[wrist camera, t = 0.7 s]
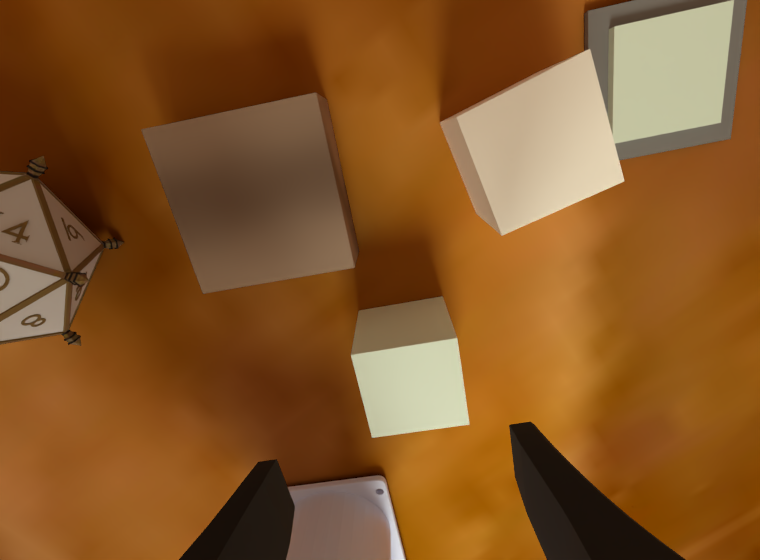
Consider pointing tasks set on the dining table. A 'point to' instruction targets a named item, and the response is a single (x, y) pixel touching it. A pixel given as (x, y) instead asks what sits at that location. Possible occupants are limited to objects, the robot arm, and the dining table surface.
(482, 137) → the cream cube
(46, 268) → the game die
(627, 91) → the tile
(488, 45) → the dining table surface
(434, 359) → the sage cube
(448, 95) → the dining table surface
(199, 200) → the walnut base
